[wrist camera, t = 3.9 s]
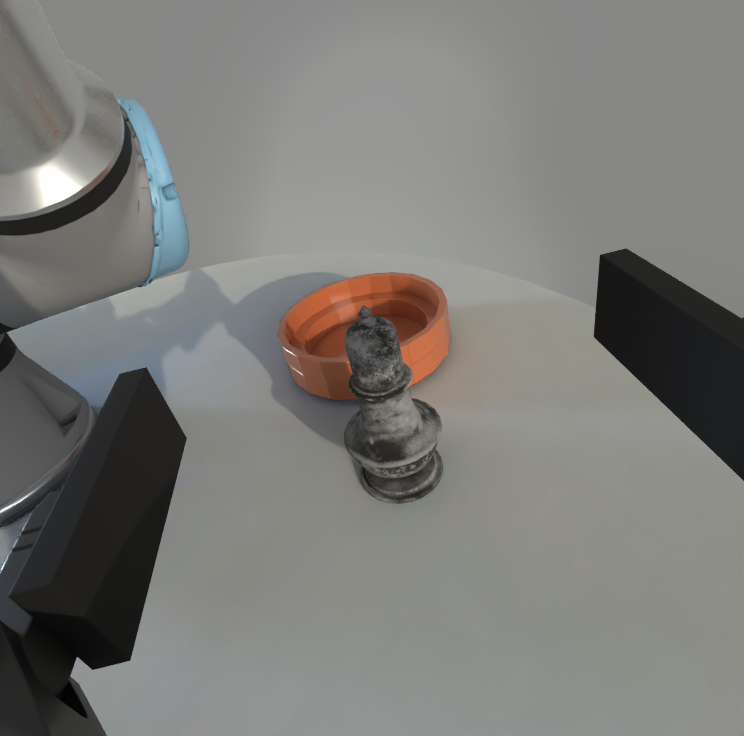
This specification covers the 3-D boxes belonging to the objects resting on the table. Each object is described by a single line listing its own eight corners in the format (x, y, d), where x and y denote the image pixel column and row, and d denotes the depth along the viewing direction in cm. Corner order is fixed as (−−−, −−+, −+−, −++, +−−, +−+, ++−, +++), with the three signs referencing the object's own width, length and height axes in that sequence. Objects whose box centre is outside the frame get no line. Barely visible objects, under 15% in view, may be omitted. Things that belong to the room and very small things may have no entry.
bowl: (260, 384, 42) (243, 344, 39) (350, 304, 51) (341, 267, 48) (399, 424, 34) (389, 377, 32) (477, 322, 43) (474, 279, 41)
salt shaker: (418, 424, 34) (388, 267, 27) (466, 478, 29) (445, 305, 23) (342, 461, 33) (290, 305, 26) (380, 524, 28) (330, 354, 21)
